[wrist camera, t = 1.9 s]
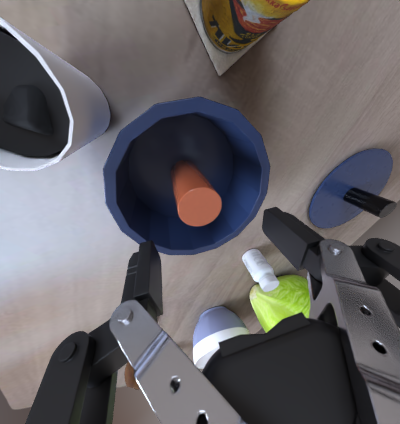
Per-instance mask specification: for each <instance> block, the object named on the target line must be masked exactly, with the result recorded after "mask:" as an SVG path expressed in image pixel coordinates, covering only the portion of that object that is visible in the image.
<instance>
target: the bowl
mask: <svg viewBox="0 0 400 424" xmlns="http://www.w3.org/2000/svg"><path fill="white" fill-rule="evenodd" d="M242 334H250V333H249V331H248V329H247V328H246V326H245V325H244V323H243V321H242V320H241V319H240V318H239V317H238V316H237V315H236V314H235V313H234V312H232V311H230V310H228V309H227V308H226V307H223V306H219V307H214V308H211V309H208V310H207V311H205V312H203V313H202V314H201V316H200V318H199V321H198V323H197V325H196V327H195V332H194V336H193V356H194V364H195V365H196V367H197V368H204V367H205V365H206V363H207V362H208V360H209V359H210V357H211V356H212V355H213V354H214V353H215V352H216V351H217V350H218V349H219V348H220V347H219V343H218V342H221V341H224V340H226V339H229V338H232V337H235V336H237V335H242Z"/></svg>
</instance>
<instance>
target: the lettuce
mask: <svg viewBox="0 0 400 424" xmlns="http://www.w3.org/2000/svg"><path fill="white" fill-rule="evenodd" d="M277 279H278V281H279V285H278V287H277V288H275V289H274V290H272V291H269V292H264V291H263V290H262V288H261V287H260V285H259V284H256V285H254V286H253V287H252V289H251V291H250V301H251V304H252V307H253V309H254V311H255V313H256V315H257V318H258V320H259V322H260V324H261V325H262V327H263V329H264V330H265V332H266V333H267V332H268V331H269V330H270V329H272V328H273V327H274V326H275V325H276V324H277V323H278V322H280V321H281V320H282V319H284V318H287V317H289V316H292V315H295V314H298V313H300V312H302V313H303V314H304V315H305V317H306V318H309V311H310V296H309V288H308V280H307V279H306V278H304V277H301V276H298V275H285V276H279V277H277Z"/></svg>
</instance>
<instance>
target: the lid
mask: <svg viewBox="0 0 400 424" xmlns="http://www.w3.org/2000/svg"><path fill="white" fill-rule="evenodd" d="M392 166H393V160H392V157H391V154H390V153H389V152H388V151H386V150H383V149H374V148H373V149H368V150H364V151H361V152H359V153H357V154H355V155H353V156H351V157H350V158H348V159H347V160H345V161H344V162H342V163H341V164H340V165H339V166H337V167H336V168H335V169H334V170H333V171H332V172H331V173H330V174H329V175H328V176H327V177H326V178H325V180H324V181H323V182H322V183H321V185H320V186H319V188H318V189H317V191H316V193H315V194H314V197H313V199H312V201H311V204H310V208H309V217H310V220H311V222H312V223H313V224H314V225H315V226H317V227H319V228H332V227H336V226H339V225H341V224H343V223H345V222H347V221H349V220H351V219H352V218H354V217H355V216H357V215H358V214H359V213H361V212H362V211H363V210H365V211H367V212H369V213H371V214H373V215H375V216H377V217H380V218H382V217H385V216H387V215H388V214H390V213H391V212H392V211H393V210H394V209H395V207H396V205H397V203H396V202H394V201H391V200H388V199H385V198H383V197H380V196H378V195H379V193H380V192H381V191H382V189H383V188H384V186H385V184H386V183H387V181H388V179H389V176H390V174H391V171H392Z"/></svg>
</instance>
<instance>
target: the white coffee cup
mask: <svg viewBox="0 0 400 424" xmlns="http://www.w3.org/2000/svg"><path fill="white" fill-rule="evenodd" d="M110 116H111V115H110V110H109V105H108V102H107V100H106V98H105V96H104V94H103V93H102V91H101V89H100V88H99V87H98V86H97V85H96V84H95V83H94V82H93V81H92V80H91V79H90V78H89V77H88V76H86V75H85V74H83V73H82V72H80V71H79V70H78V69H76V68H75V67H73V66H72V65H70V64H69V63H67V62H66V61H64V60H63V59H61V58H60V57H58V56H57V55H55V54H54V53H53V52H51V51H50V50H48V49H47V48H45V47H44V46H42V45H41V44H39V43H38V42H36V41H35V40H33V39H32V38H30V37H29V36H28V35H26V34H25V33H23V32H22V31H20V30H19V29H17V28H16V27H14V26H13V25H11V24H10V23H8V22H7V21H5V20H4V19H3V18H1V17H0V168H1V169H5V170H9V171H37V170H40V169H42V168H45V167H47V166H50V165H52V164H55V163H57V162H59V161H61V160H63V159H64V158H66V157H67V156H69V155H70V154H72V153H74V152H75V151H77V150H78V149H80V148H81V147H83V146H85V145H86V144H88V143H89V142H91V141H92V140H94V139H96V138H97V137H99V136H100V135H102V134H103V133H104V132H105V130H106V129H107V128H108V126H109V121H110Z"/></svg>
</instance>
